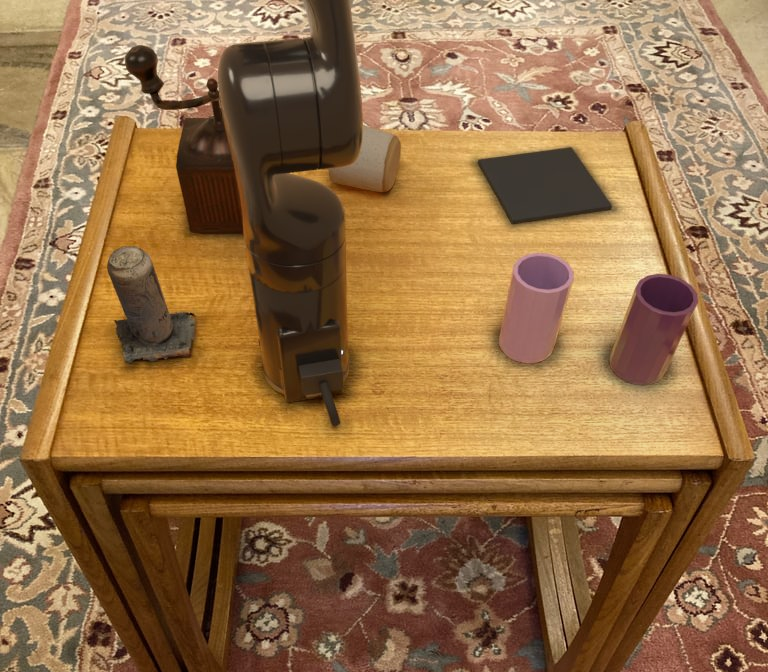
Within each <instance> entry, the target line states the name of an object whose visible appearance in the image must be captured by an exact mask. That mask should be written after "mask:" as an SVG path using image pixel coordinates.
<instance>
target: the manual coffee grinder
mask: <svg viewBox="0 0 768 672" xmlns="http://www.w3.org/2000/svg"><path fill="white" fill-rule="evenodd" d="M158 63H159V59H158V55H157V53H156V52H155V51H154V49H153V48H151V47H150V46H148V45H144V44H138V45H135V46H133V47H131V48H130V49H129V50H128V52H127V53H125V55H124V64H125V68H126V70H127V73H129V74H130V75H132V77H134V78H136V79H137V80H138V81H139V82H140V89H141V92H142V93H143V94H144V95H145V94H146V95H147V94H148V95H149V96H150V98H151V101H152V103H153V105H154V106H155V107H157V108H158V109H160V110H163V111H177V110H186V109H187V110H188V109H195V108H199V107H202V106H205V105H207V104H209V103H210V104H211V109H212V115H211V116H207V117H185V118H184V121H183V124H182V129H181V133H180V137H179V138H180V139H179V143H178V147H177V153H176V163H175V168H176V169H175V170H176V173H177V178H178V182H179V186H180V190H181V196H182V200H183V203H184V208H185V213H186V219H187V223H188V230H189V232H190V233H195V234H201V235H231V234H232V235H238V234H239V235H241V234H244V233H243V225H242V217H241V209H240V201H239V195H238V188H237V182H236V177H235V173H234V168H233V163H232V158H231V154H230V149H229V144H228V140H227V135H226V130H225V125H224V120H223V115H222V110H221V105H220V98H219V87H218V80H216V79H215V78H214V77H211V78H208V80H207V82H206V83H205V84H206V85H205V86H206V88H207V90H208V91H207V94H205V95H202V96H200V97H196V98H192V99H185V100H176V101H174V100H173V101H165V100H163V99H162V98H161V96H160V92H161V89H162V88H163V87H164V85H165V83H164V81H163V80H162V78H160V77H159V74H158Z"/></svg>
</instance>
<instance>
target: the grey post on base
mask: <svg viewBox="0 0 768 672" xmlns="http://www.w3.org/2000/svg"><path fill="white" fill-rule="evenodd" d="M106 270H107V273H108V276H109V279H110V281H111V284H112V286H113V289H114V290H115V291H114V292H115V293H116V296H117V299H118V301H119V304H120V307H121V309H122V311H123V314H124V316H125V318H126V319H118V320H117V319H113V322H114V323H115V324H116V327H115V331H116V332H115V333H116V335H117V338H118V340H119V341H120V344H121V345H120V346H121V347H120V348H121V349H122V348H123V349H122V351H121V352H122V355H123V359H124V360H125V363H129V364H130V365H131V364H132V363H133V362H134V361H136V360H141V359H142V361H146V360H147V361H149V362H157V361H158V360H159V359H164V360H165V361H166V360H167V359H169V358H175V357H177V356H178V357H189V356H191V354H190V353H191V351H192V348H191V347H192V346H191V345H192V344H193V343H192V342H193V341H195V340H196V339H195V329H196V326H195V324H196V318H195V317H197V315H196V314H195V313H194V312H189V311H188V312H187V311H182V312H175V313H173V312H171V313H170V311H169V308H168V305H167V303H166V300H165V296H164V294H163V291H162V287H161V285H160V281H159V277H158V275H157V271H156V269H155V266H154V263H153V260H152V258H151V256H150V255H149V254H148V253H147V252H146V251H145V250H143V248H142V247H138V246H134V245H129V246H126V245H124V246H120V247H119V248H116V249H114V250H113V252H112V253H111V254H110V255H109V257H108V259H107V264H106ZM192 317H194V318H192Z"/></svg>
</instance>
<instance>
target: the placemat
mask: <svg viewBox="0 0 768 672" xmlns="http://www.w3.org/2000/svg"><path fill="white" fill-rule="evenodd" d="M477 165H478V167H479V168H480V170H481V172H482V173H483V175H484V177H485V178H486V179H485V180H486V181H487V183H488V184H489V186H490V187H491V189H492V191H493V193H494V194H495V196H496V198H497V200H498V202H499V203H500V206H501V207H502V209H503V211H504V212H505V214H506V216H507V218H508V219H509V221H510V223H511V224H512V225H515V224H522V223H531V222H536V221H543V220H549V219H556V218H564V217H570V216H575V215H576V216H577V215H582V214H583V215H584V214H589V213H596V212H604V211H610V210H612V208H613V205H612V203H611V202H610V200H609V199H608V198H607V196H606V195H605V193H604V191H602V189H601V188H600V186H599V185H598V183H597V182H596V180H595V179H594V178H593V176H592V174H591V172H589V170H588V169H587V168H586V166H585V164H584V163H583V162H582V160H581V159H580V157H579V156H578V154H577V153H576V152H575V150H574V149H573V147H571V146H570V147H569V146H568V147H563V148H555V149H548V150H547V149H546V150H540V151H532V152H525V153H517V154H510V155H509V154H508V155H501V156H495V157H487V158H480V159H478V160H477Z"/></svg>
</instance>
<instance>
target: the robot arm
mask: <svg viewBox="0 0 768 672" xmlns="http://www.w3.org/2000/svg"><path fill="white" fill-rule="evenodd" d="M302 2H303V5H304V9H305V10H304V11H305V13H306V16H307V21H308V27H309V32H310V36H308V37H303V38H302V37H298V38H297V37H296V38H286V39H285V38H284V39H275V40H264V41H252V42H242V43H241V42H239V43H234V44H230V45H228V46H227V47H225V48H224V49H223V51H222V53H221V55H220V57H219V62H218V68H217V82H218V91H219V98H220V99H219V104H220V108H221V110H222V115H223V120H224V125H225V130H226V135H227V140H228V144H229V149H230V154H231V158H232V163H233V168H234V173H235V177H236V182H237V188H238V195H239V201H240V209H241V217H242V225H243V233H242V234H243V239H244V245H245V246H244V247H245V252H246V260H247V267H248V272H249V281H250V286H251V294H252V299H253V306H254V312H255V320H256V327H257V333H258V346H259V348H260V351H261V357H262V371H263V376H264V378H265V381H266V382H267V384H268V385H269V386H270V387H271V388H272V389H273V390H274V391H275V392H277V393H279V394H281V395H282V396H283V397H284V399H285V402H286V403H294V402H300V401H306V400H312V399H318V398H322V399H323V402H324V406H325V408H326V412H327V415H328V418H329V422H330V424H331V426H332V427H338V426H340V425H341V424H342V423H341V418H340V416H339V413H338V408H337V406H336V403H335V400H334V395H339V394H340V395H341V394H343V392H344V389H345V388H344V383H345V382H346V380H347V378H348V376H349V372H350V357H349V336H348V335H349V334H348V329H349V328H348V291H347V290H348V288H347V233H346V226H347V225H346V212H345V208H344V205H343V202H342V200H341V198H340V197H339V196H338V195H337V193H336V192H334V190H332V189H331V188H330V187H328V186H327V185H325V184H323V183H321V182H319V181H316V180H314V179H311V178H308V177H304V176H300V175H296V174H295V173H303V172H311V171H319V170H327V169H328V170H329V169H330V168H338V167H344V166H347V165H351V164H352V163H354V162H355V161H356V159H357V158H358V156H359V153H360V150H361V145H362V137H363V125H364V112H363V98H362V87H361V78H360V70H359V69H360V68H359V64H358V63H359V61H358V54H357V53H358V52H357V45H356V39H355V38H356V37H355V30H354V23H353V15H352V14H353V13H352V5H351V0H302ZM293 173H294V174H293Z"/></svg>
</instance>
